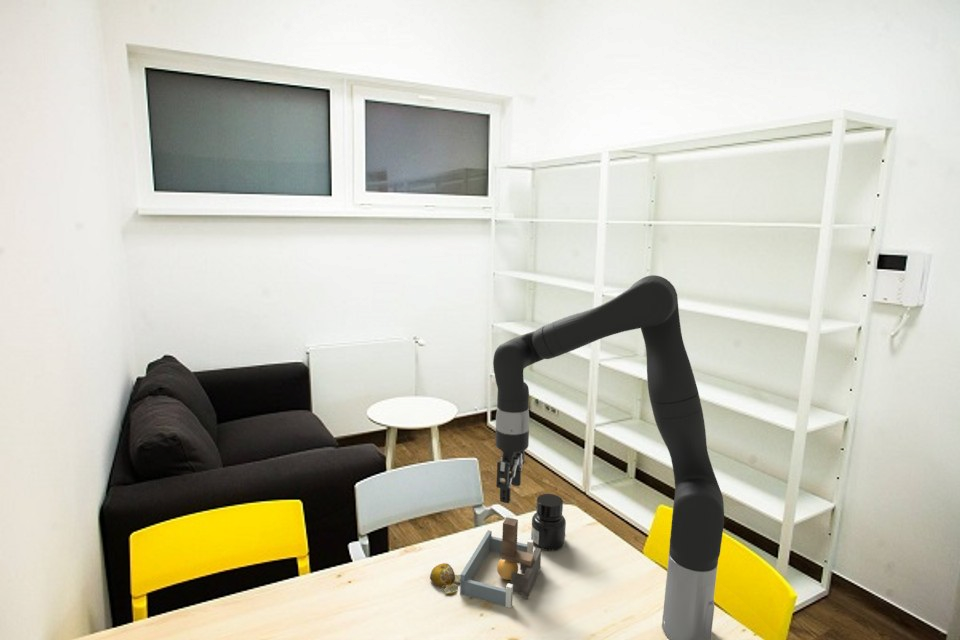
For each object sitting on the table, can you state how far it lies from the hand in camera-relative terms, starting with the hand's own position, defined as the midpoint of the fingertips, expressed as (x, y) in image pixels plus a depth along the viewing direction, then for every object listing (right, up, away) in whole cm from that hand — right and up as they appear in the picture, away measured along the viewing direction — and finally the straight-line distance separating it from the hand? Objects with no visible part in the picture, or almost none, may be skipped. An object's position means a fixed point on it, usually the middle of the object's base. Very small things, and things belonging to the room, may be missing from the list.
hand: (510, 493), depth 125 cm
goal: (-3, -21, +5) cm, 22 cm away
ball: (0, -19, +4) cm, 19 cm away
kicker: (+2, -21, +3) cm, 22 cm away
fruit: (-14, -22, +2) cm, 26 cm away
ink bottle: (+11, -19, +19) cm, 29 cm away
